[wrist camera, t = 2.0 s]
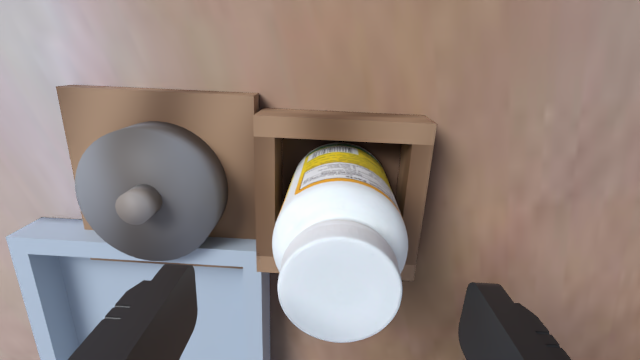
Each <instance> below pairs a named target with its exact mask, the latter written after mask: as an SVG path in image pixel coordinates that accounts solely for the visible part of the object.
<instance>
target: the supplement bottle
mask: <svg viewBox="0 0 640 360" xmlns="http://www.w3.org/2000/svg"><path fill="white" fill-rule="evenodd" d="M272 250H273V256H274V260H275V263H276V266H277V268H278V270H279V272H280V273H279V277H278V285H277V291H278V298H279V301H280V305H281V307H282V309H283V311H284V313H285V314H286V316H287V317H288V318H289V320H290V321H291V322H292V323H293V324H294V325H295V326H296V327H298V328H299V329H300V330H302V331H303V332H305V333H307V334H309V335H310V336H313V337H315V338H318V339H321V340H325V341H330V342H337V343H343V342H354V341H358V340H363V339H365V338H368V337H370V336H372V335H374V334H376V333H378V332H379V331H381V330H382V329H383V328H385V327H386V326H387V325H388V324H389V323H390V321H392V319H393V318H394V316H395V315H396V313H397V311H398V309H399V307H400V303H401V299H402V280H401V275H400V274H401V272H402V270H403V268H404V265H405V262H406V259H407V253H408V236H407V231H406V227H405V224H404V221H403V218H402V215H401V213H400V210H399V208H398V205H397V202H396V200H395V197H394V195H393V193H392V190H391V187H390V185H389V182H388V179H387V177H386V174H385V172H384V169H383V168H382V165H381V164H380V162H379V161H378V160H377V159H376V158H375V157H374V156H373V155H372V154H371V153H370V152H368V151H367V150H365V149H364V148H362V147H360V146H357V145H354V144H350V143H344V142H335V143H328V144H325V145H322V146H319V147H317V148H315V149H314V150H312V151H311V152H309V153H308V154H307V155H306V156H305V157H304V158H303V159H302V160H301V162H300V163H299V164H298V166H297V168H296V170H295V172H294V175H293V178H292V180H291V183H290V186H289V189H288V191H287V194H286V197H285V200H284V202H283V205H282V207H281V210H280V213H279V215H278V218H277V221H276V223H275V227H274V231H273V237H272Z"/></svg>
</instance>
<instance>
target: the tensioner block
mask: <svg viewBox="0 0 640 360" xmlns="http://www.w3.org/2000/svg"><path fill="white" fill-rule="evenodd" d="M56 89H57V94H58V99H59V104H60V109H61V114H62V119H63V124H64V129H65V134H66V139H67V144H68V149H69V154H70V159H71V164H72V169H73V174H74V179H75V190H76V197H77V200H78V204H79V206H80V209H81V214H82V219H83V224H84V229H85V230H94V231H95V232H96V233H97V235H99V236H100V237H101V238H102V239H103V240H104V241H105V242H107V243H108V244H109V245H111V246H112V247H114V248H115V249H117V250H119V251H120V252H122V253H125V254H127V255H129V256H132V257H135V258H138V259H143V260H149V261H135V260H118V259H102V258H90V259H91V260H104V261H120V262H137V263H153V264H181V265H192V266H203V267H220V268H236V269H243V267H235V266H218V265H201V264H185V263H168V262H152V261H168V260H174V259H178V258H181V257H183V256H186V255H188V254H189V253H191V252H193V251H194V250H196V249H197V248H198V247H199V246H200V245H201V244H202V243H203V242H204V241H205V240H206V238H207V237H222V238H239V239H256V256H257V257H256V264H257V272H269V273H280V272H279V270H278V268H277V266H276V263H275V260H274V256H273V250H272V237H273V231H274V227H275V223H276V221H277V218H278V215H279V213H280V210H281V207H282V138H295V139H316V140H336V141H356V142H377V143H397V144H402V146H401V155H400V163H399V172H398V180H397V188H396V197H395V200H396V202H397V205H398V208H399V210H400V213H401V215H402V218H403V221H404V224H405V227H406V231H407V236H408V253H407V259H406V262H405V265H404V268H403V270H402V272H401V274H400V275H401V280H402V281H414V275H415V268H416V262H417V255H418V248H419V242H420V235H421V228H422V221H423V215H424V208H425V201H426V195H427V188H428V181H429V175H430V168H431V161H432V155H433V148H434V141H435V134H436V128H437V124H436V123H435V122H433V121H432V120H430V119H429V118H427V117H426V116H424V115H403V114H382V113H361V112H339V111H318V110H297V109H275V108H263V109H261V110H260V111H259V93H241V92H219V91H197V90H175V89H153V88H131V87H109V86H87V85H67V86H58V87H56ZM257 253H258V254H257ZM259 257H260V258H259ZM257 258H258V259H257ZM257 260H258V261H259V262H258V261H257Z"/></svg>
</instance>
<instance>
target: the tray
mask: <svg viewBox="0 0 640 360" xmlns="http://www.w3.org/2000/svg"><path fill="white" fill-rule="evenodd" d="M6 240H7V243H8V247H9V250H10V254H11V257H12V261H13V264H14V268H15V271H16V275H17V278H18V282H19V285H20V289H21V293H22V296H23V300H24V303H25V307H26V310H27V314H28V317H29V321H30V324H31V328H32V331H33V335H34V338H35V342H36V345H37V349H38V352H39V356H40V359H41V360H68V358H69V357H70V356H71V355H72V354H73V353H74V351H75V350H76V349H77V348H78V347H79V346H80V345H81V343H82V342H83V341H84V340H85V339H86V338H87V336H88V335H89V334H90V333H91V332H92V331H93V329H94V328H95V327H96V326H97V325H98V324H99V323H100V321H101V320H102V319H105V316H106V314H107V313H108V312H109V311H110V310H111V309H112V308H114V307H115V304H116V303H117V302H118V301H119V299H120V298H121V297H122V296H123V295H124V294H125V292H126V291H128V290H129V289H131V288H132V287H134V286H135V285H137V284H139V283H140V282H142V281H143V280H149V281H151V280H152V279H153V278H154V276H155V275H156V274H157V272H158V271H159V270H160V269H161V267H162V266H163V265H164V264H153V263H137V262H120V261H104V260H91V259H90V258H102V259H118V260H135V261H149V260H143V259H138V258H135V257H132V256H129V255H127V254H125V253H122V252H120V251H119V250H117V249H115V248H114V247H112V246H111V245H109V244H108V243H107V242H105V241H104V240H103V239H102V238H101V237H100V236H99V235H97V233H96V232H95V231H94V230H85V229H84V224H83V220H80V219H63V218H45V217H41V218H39V219H38V220H36V221H34V222H32V223H30V224H28V225H27V226H25V227H23V228H21V229H19V230H17V231H16V232H14V233H12V234H10V235H8V236H6ZM257 254H258V253H257ZM256 257H257V256H256V239H239V238H222V237H207V238H206V240H205V241H204V242H203V243H202V244H201V245H200V246H199V247H198V248H197V249H196V250H194V251H193V252H191V253H189V254H188V255H186V256H183V257H181V258H178V259H174V260H168V261H152V262H168V263H185V264H201V265H218V266H235V267H243V269H236V268H220V267H203V266H193V267H194V270H195V281H196V294H197V307H198V313H197V321H196V325H195V328H194V331H193V333H192V335H191V337H190V339H189V341H188V343H187V345H186V347H185V349H184V351H183V353H182V355H181V357H180V359H179V360H270V273H269V272H257V264H256ZM259 258H260V257H259ZM257 259H258V258H257ZM257 261H258V260H257ZM258 262H259V261H258Z"/></svg>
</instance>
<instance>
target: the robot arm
mask: <svg viewBox="0 0 640 360" xmlns="http://www.w3.org/2000/svg"><path fill="white" fill-rule="evenodd" d="M197 313H198V307H197V294H196V281H195V270H194V267H193V266H192V265H181V264H164V265H163V266H162V267H161V269H160V270H159V271H158V272H157V274H156V275H155V276H154V278H153V279H152V280H151V281H149V280H143V281H142V282H140V283H139V284H137V285H135V286H134V287H132V288H131V289H129V290H128V291H126V292H125V294H124V295H123V296H122V297H121V298H120V299H119V301H118V302H117V303H116V304H115V307H114V308H112V309H111V310H110V311H109V312H108V313H107V314H106V316H105V319H102V320H101V321H100V323H99V324H98V325H97V326H96V327H95V328H94V329H93V331H92V332H91V333H90V334H89V335H88V336H87V338H86V339H85V340H84V341H83V342H82V343H81V345H80V346H79V347H78V348H77V349H76V350H75V351H74V353H73V354H72V355H71V356H70V357H69V358H68V360H179V359H180V357H181V355H182V353H183V351H184V349H185V347H186V345H187V343H188V341H189V339H190V337H191V335H192V333H193V331H194V328H195V325H196V321H197ZM459 341H460V346H461V349H462V351H463V353H464V355H465V358H466V360H571V359H570V357H569V356H568V355H567V354H566V352H565V351H564V350H563V349H562V348H560V347H559V344H558V342H557V341H556V340H555V339H554V337H553V336H552V335H550V334H549V331H548V330H547V328H546V327H545V326H544V325H543V323H542V322H541V321H540V320H539V318H538V317H537V316H536V315H534V314H533V313H532V312H530V311H529V310H528V309H526V308H525V307H524V306H522V305H521V304H520V303H514V302H513V301H512V300H511V298H510V297H509V296H508V294H507V293H506V292H505V290H504V289H503V288H502V286H501V285H499V284H490V283H473V282H472V283H470V284H469V285H468V288H467V291H466V296H465V300H464V305H463V309H462V314H461V318H460V323H459Z"/></svg>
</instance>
